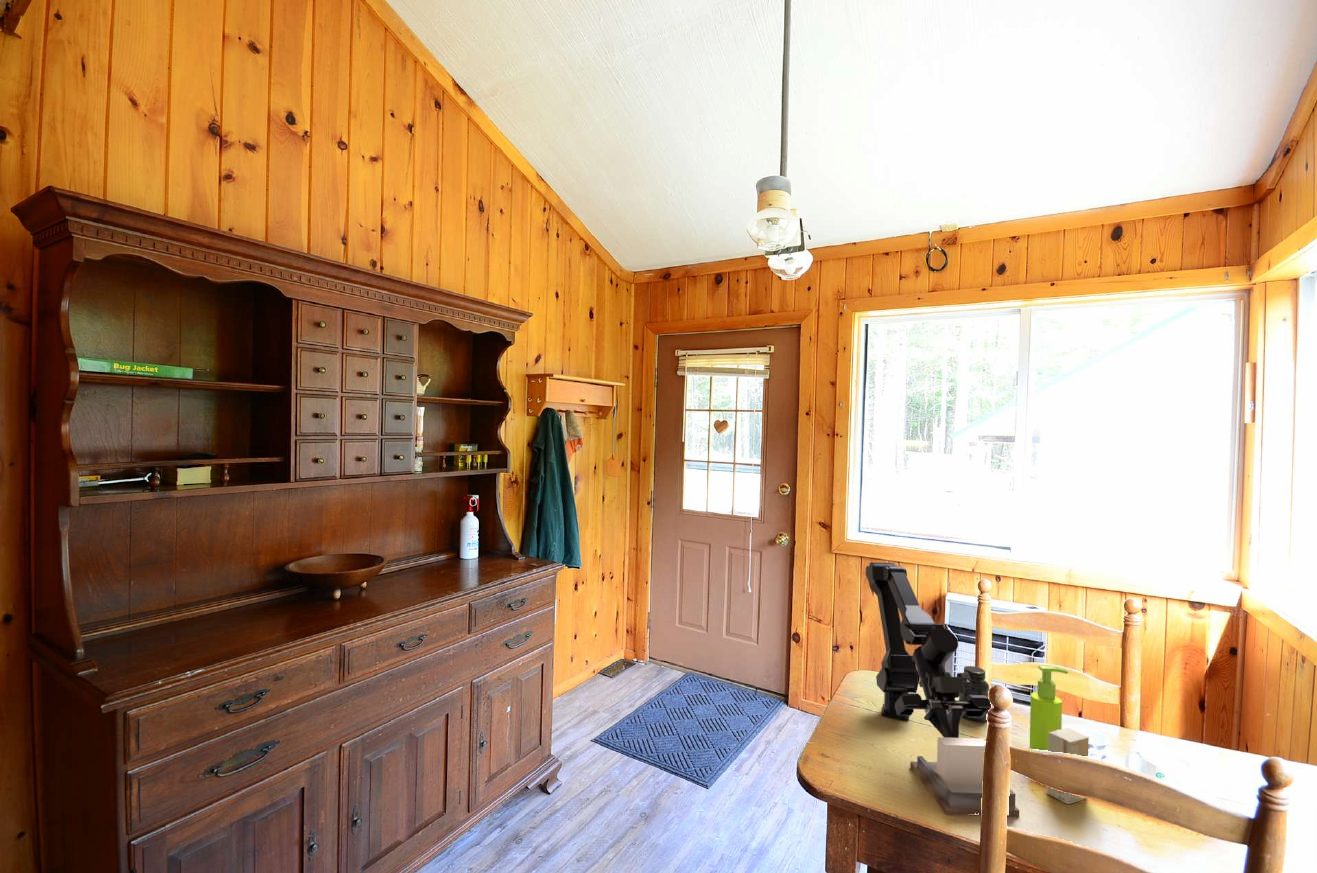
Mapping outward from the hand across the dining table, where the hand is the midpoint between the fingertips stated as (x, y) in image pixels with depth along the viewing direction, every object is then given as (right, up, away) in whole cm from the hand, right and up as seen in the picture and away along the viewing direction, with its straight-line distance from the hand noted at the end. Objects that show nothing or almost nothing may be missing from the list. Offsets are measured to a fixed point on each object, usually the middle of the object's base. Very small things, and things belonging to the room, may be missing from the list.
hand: (955, 748), depth 121 cm
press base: (0, -7, -2) cm, 7 cm away
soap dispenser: (+26, -8, +11) cm, 30 cm away
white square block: (0, -6, -3) cm, 6 cm away
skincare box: (+20, -8, -3) cm, 22 cm away
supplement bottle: (+20, -8, +30) cm, 37 cm away
